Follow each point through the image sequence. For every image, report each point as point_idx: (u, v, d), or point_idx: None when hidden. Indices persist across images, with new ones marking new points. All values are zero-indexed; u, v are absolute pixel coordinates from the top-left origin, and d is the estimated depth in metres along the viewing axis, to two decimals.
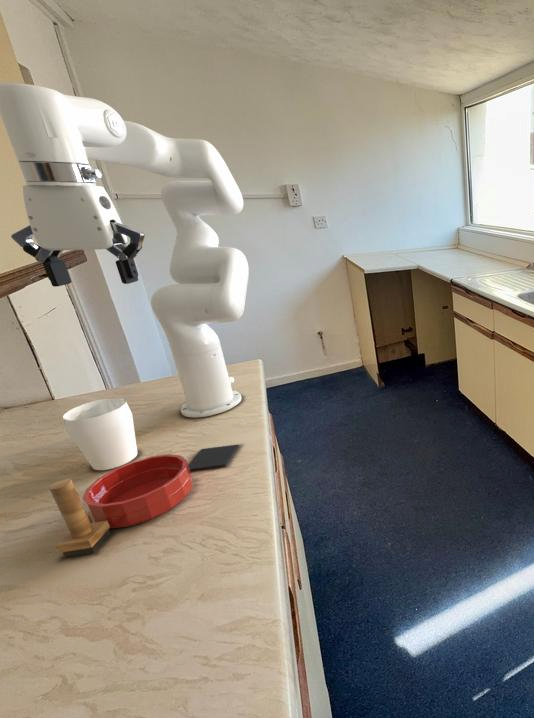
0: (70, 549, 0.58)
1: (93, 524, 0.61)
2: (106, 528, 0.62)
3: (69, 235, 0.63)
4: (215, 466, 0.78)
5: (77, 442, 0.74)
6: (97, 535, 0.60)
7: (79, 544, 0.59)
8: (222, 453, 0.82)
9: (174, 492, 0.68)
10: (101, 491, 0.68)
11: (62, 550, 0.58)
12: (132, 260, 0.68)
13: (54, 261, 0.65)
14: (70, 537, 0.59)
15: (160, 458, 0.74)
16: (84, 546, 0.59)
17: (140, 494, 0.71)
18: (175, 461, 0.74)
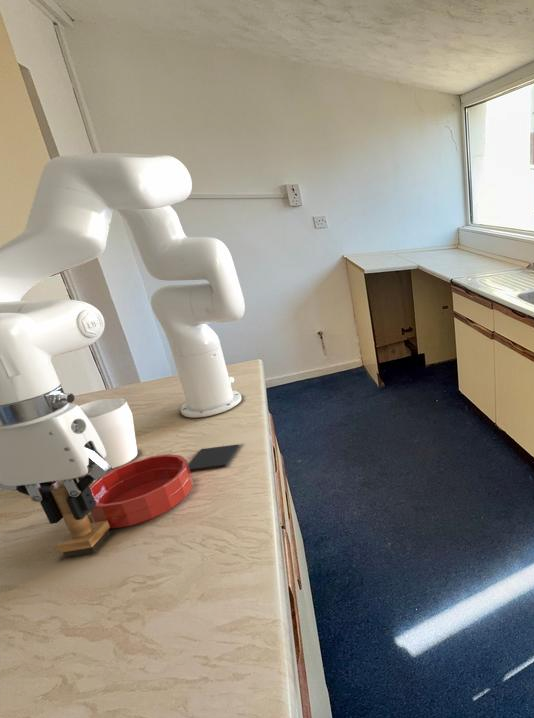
0: (70, 549, 0.58)
1: (93, 524, 0.61)
2: (106, 528, 0.62)
3: (36, 471, 0.54)
4: (215, 466, 0.78)
5: None
6: (97, 535, 0.60)
7: (79, 544, 0.59)
8: (222, 453, 0.82)
9: (174, 492, 0.68)
10: (101, 491, 0.68)
11: (62, 550, 0.58)
12: (87, 490, 0.59)
13: None
14: (70, 537, 0.59)
15: (160, 458, 0.74)
16: (84, 546, 0.59)
17: (140, 494, 0.71)
18: (175, 461, 0.74)
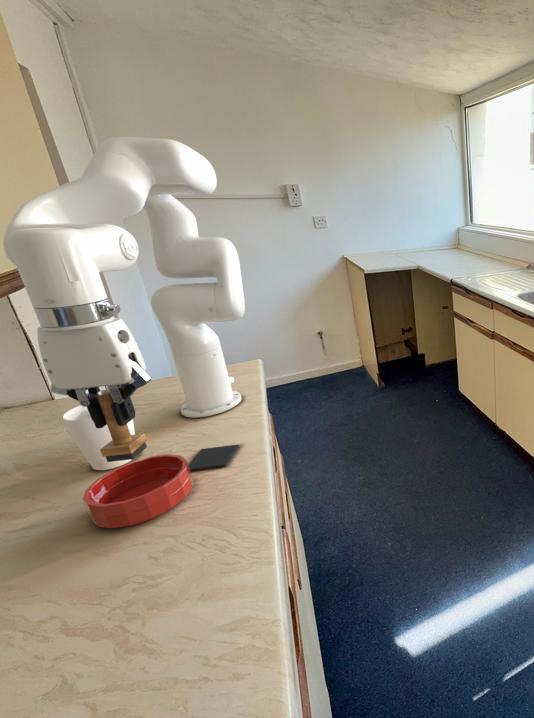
0: (112, 454, 0.64)
1: (132, 435, 0.67)
2: (143, 440, 0.67)
3: (86, 374, 0.59)
4: (215, 466, 0.78)
5: (77, 442, 0.74)
6: (136, 444, 0.66)
7: (120, 449, 0.64)
8: (222, 453, 0.82)
9: (174, 492, 0.68)
10: (101, 491, 0.68)
11: (105, 454, 0.64)
12: (128, 400, 0.64)
13: (98, 402, 0.63)
14: (112, 444, 0.65)
15: (160, 458, 0.74)
16: (125, 452, 0.64)
17: (140, 494, 0.71)
18: (175, 461, 0.74)
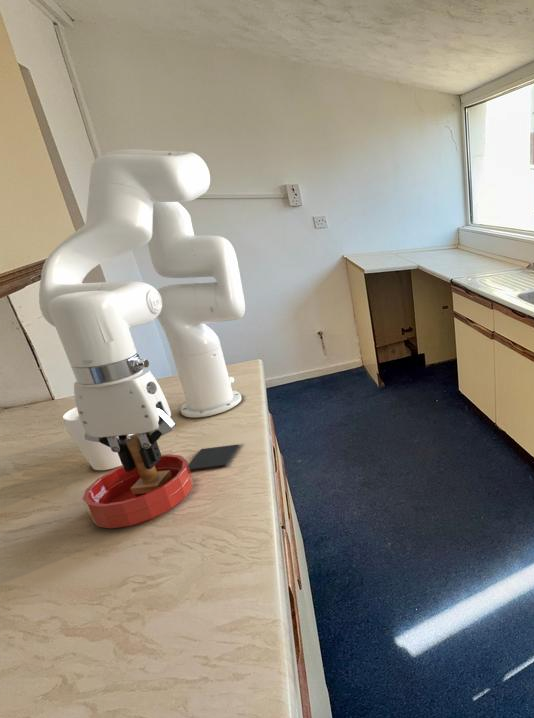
0: (141, 492, 0.69)
1: (158, 472, 0.72)
2: (169, 476, 0.72)
3: (117, 424, 0.64)
4: (215, 466, 0.78)
5: (77, 442, 0.74)
6: (162, 482, 0.71)
7: (148, 488, 0.69)
8: (222, 453, 0.82)
9: (174, 492, 0.68)
10: (101, 491, 0.68)
11: (135, 492, 0.69)
12: (155, 444, 0.69)
13: (127, 447, 0.67)
14: (141, 482, 0.70)
15: None
16: (152, 490, 0.69)
17: None
18: (175, 461, 0.74)
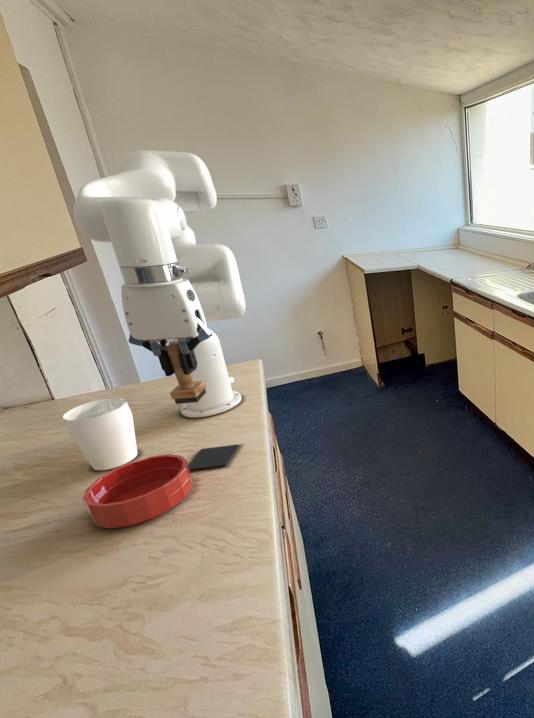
0: (180, 397, 0.74)
1: (194, 382, 0.77)
2: (204, 386, 0.77)
3: (160, 327, 0.68)
4: (215, 466, 0.78)
5: (77, 442, 0.74)
6: (199, 389, 0.75)
7: (187, 393, 0.74)
8: (222, 453, 0.82)
9: (174, 492, 0.68)
10: (101, 491, 0.68)
11: (174, 397, 0.73)
12: (192, 352, 0.73)
13: (167, 353, 0.72)
14: (179, 388, 0.74)
15: (160, 458, 0.74)
16: (190, 396, 0.74)
17: (140, 494, 0.71)
18: (175, 461, 0.74)
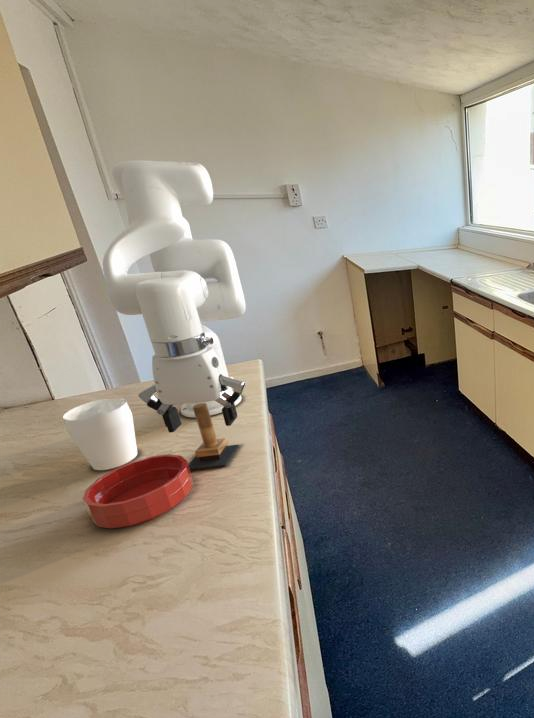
0: (204, 455, 0.79)
1: (217, 440, 0.82)
2: (225, 443, 0.83)
3: (187, 393, 0.74)
4: (215, 466, 0.78)
5: (77, 442, 0.74)
6: (221, 446, 0.81)
7: (211, 451, 0.79)
8: None
9: (174, 492, 0.68)
10: (101, 491, 0.68)
11: (199, 455, 0.79)
12: (233, 405, 0.79)
13: (170, 411, 0.76)
14: (203, 447, 0.80)
15: (160, 458, 0.74)
16: (214, 453, 0.79)
17: (140, 494, 0.71)
18: (175, 461, 0.74)
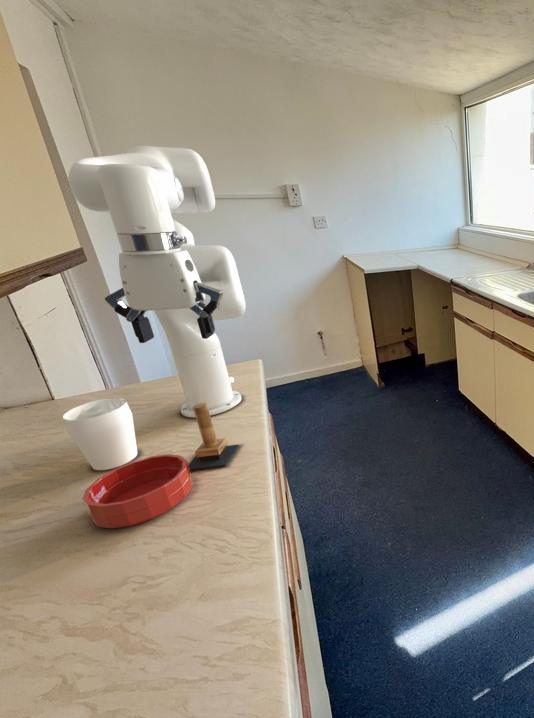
0: (204, 455, 0.79)
1: (217, 440, 0.82)
2: (225, 443, 0.83)
3: (158, 297, 0.68)
4: (215, 466, 0.78)
5: (77, 442, 0.74)
6: (221, 446, 0.81)
7: (211, 451, 0.79)
8: None
9: (174, 492, 0.68)
10: (101, 491, 0.68)
11: (199, 455, 0.79)
12: (210, 316, 0.73)
13: (141, 319, 0.70)
14: (203, 447, 0.80)
15: (160, 458, 0.74)
16: (214, 453, 0.79)
17: (140, 494, 0.71)
18: (175, 461, 0.74)
